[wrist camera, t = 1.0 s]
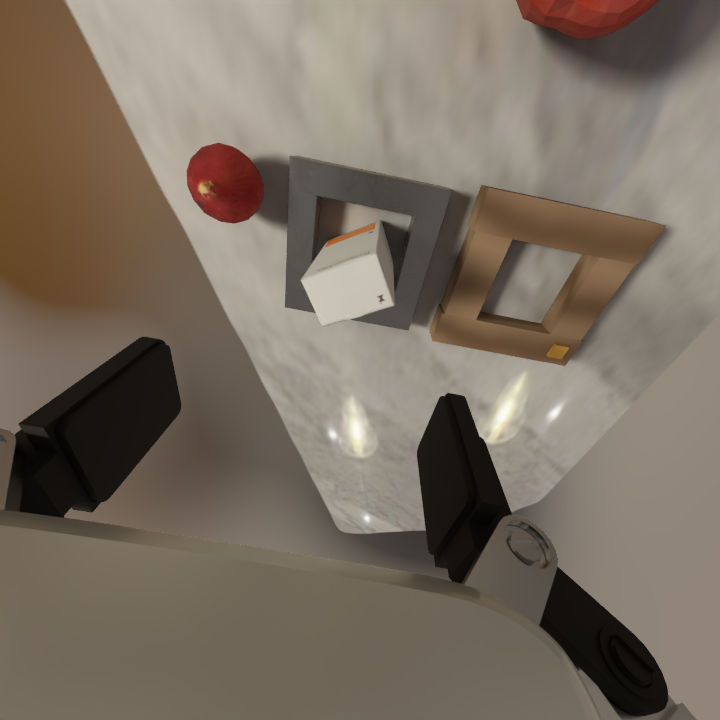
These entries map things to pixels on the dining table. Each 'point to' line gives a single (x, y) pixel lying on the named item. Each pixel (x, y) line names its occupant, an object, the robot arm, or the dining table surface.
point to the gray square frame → (368, 190)
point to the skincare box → (351, 276)
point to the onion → (225, 183)
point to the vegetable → (583, 15)
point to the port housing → (577, 297)
